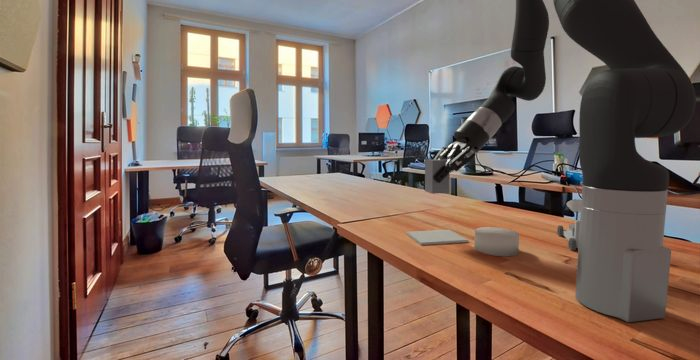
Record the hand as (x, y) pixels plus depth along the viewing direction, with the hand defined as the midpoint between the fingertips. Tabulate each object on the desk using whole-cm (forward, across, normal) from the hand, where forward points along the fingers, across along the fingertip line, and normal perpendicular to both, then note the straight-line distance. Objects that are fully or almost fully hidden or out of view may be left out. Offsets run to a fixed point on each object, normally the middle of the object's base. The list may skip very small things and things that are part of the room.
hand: (431, 179), depth 82 cm
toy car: (-14, +12, +36) cm, 40 cm away
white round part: (+3, +12, +18) cm, 22 cm away
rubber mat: (+10, 0, +12) cm, 15 cm away
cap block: (+1, 0, +3) cm, 4 cm away
